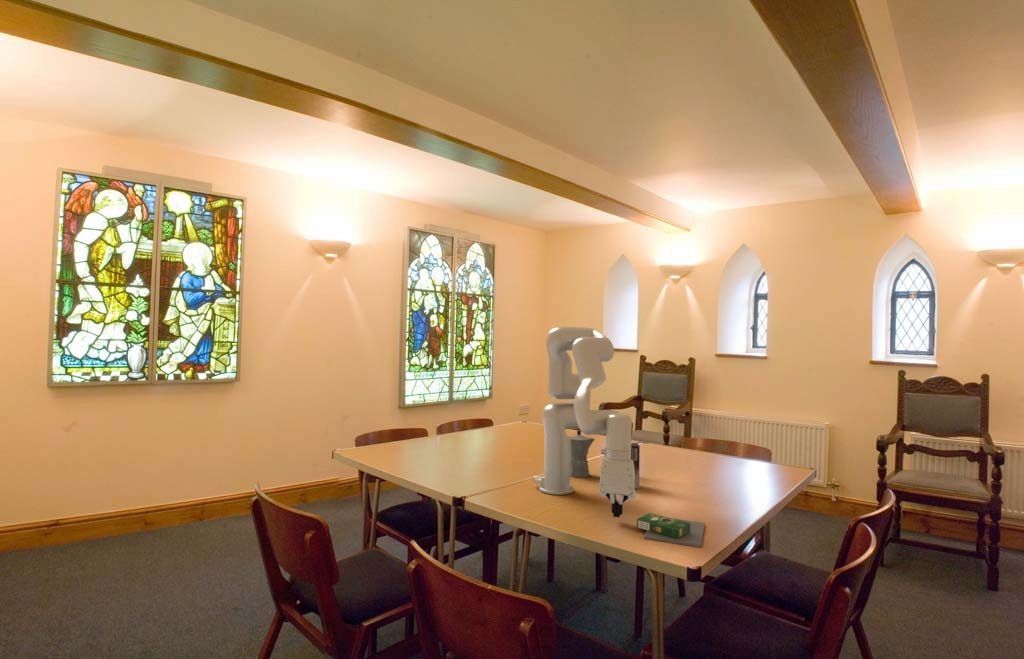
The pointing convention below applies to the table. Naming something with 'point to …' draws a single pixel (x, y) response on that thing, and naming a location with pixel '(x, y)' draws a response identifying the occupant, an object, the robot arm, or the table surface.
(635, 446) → the coffee box
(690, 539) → the mat
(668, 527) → the coffee box
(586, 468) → the coffeepot
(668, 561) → the table surface
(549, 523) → the table surface
